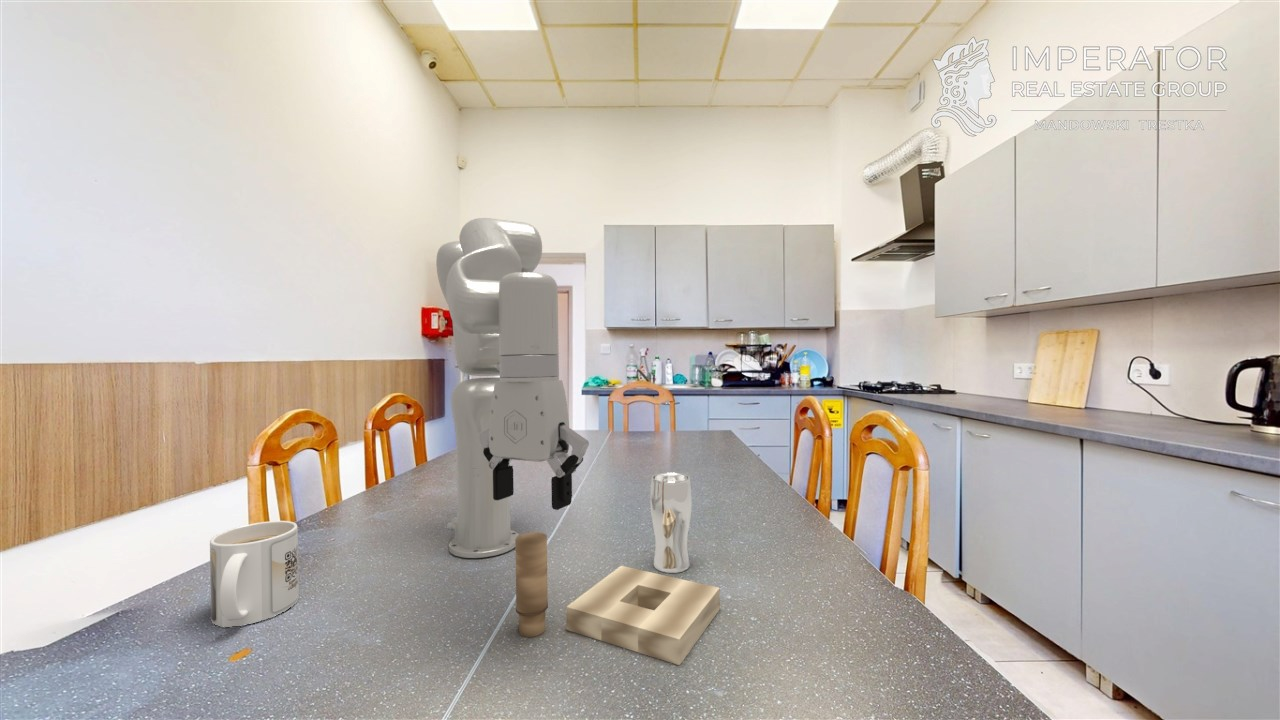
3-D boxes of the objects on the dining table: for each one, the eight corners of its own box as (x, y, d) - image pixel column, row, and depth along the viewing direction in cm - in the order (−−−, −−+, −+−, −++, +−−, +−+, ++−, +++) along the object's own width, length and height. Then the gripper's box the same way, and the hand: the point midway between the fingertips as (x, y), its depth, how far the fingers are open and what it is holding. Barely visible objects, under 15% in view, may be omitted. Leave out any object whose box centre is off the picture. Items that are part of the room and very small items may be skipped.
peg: (509, 633, 63) (508, 540, 63) (530, 618, 66) (529, 530, 66) (534, 642, 61) (532, 545, 61) (554, 625, 64) (553, 535, 64)
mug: (318, 599, 72) (317, 524, 72) (226, 644, 61) (225, 556, 61) (268, 588, 76) (267, 517, 76) (173, 629, 64) (172, 546, 64)
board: (566, 629, 63) (566, 606, 63) (621, 584, 76) (620, 565, 76) (679, 665, 56) (679, 639, 56) (719, 609, 68) (719, 587, 68)
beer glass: (689, 576, 79) (689, 483, 79) (647, 572, 80) (646, 481, 80) (693, 558, 85) (693, 473, 85) (654, 555, 87) (653, 471, 87)
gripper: (459, 371, 64) (461, 501, 64) (566, 369, 56) (568, 519, 56) (500, 369, 71) (502, 488, 71) (601, 368, 63) (603, 502, 62)
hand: (531, 502), depth 63 cm, fingers open, 9 cm apart
